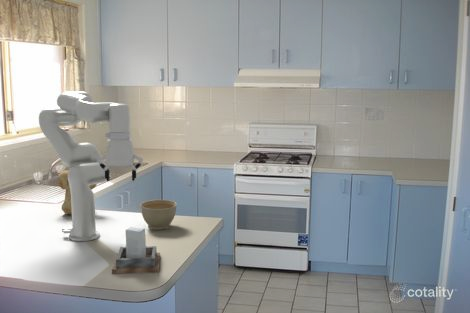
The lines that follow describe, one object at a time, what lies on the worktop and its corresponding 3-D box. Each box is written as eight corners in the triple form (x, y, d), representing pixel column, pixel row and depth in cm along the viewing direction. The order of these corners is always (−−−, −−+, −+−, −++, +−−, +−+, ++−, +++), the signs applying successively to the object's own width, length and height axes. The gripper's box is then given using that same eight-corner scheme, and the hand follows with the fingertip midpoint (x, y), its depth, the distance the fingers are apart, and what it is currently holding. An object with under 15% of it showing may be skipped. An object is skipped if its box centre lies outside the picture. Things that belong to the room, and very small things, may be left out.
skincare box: (146, 259, 187) (145, 228, 185) (140, 263, 183) (140, 231, 181) (131, 257, 189) (131, 226, 187) (125, 261, 185) (125, 229, 183)
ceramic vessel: (63, 208, 263) (61, 160, 259) (101, 207, 265) (100, 160, 261) (54, 217, 246) (51, 166, 242) (95, 216, 248) (93, 166, 244)
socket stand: (112, 273, 178) (111, 261, 177) (117, 257, 194) (117, 246, 193) (158, 272, 179) (158, 260, 179) (160, 256, 195) (159, 244, 194)
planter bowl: (133, 229, 229) (133, 205, 227) (155, 220, 243) (154, 198, 241) (163, 234, 222) (162, 210, 220) (183, 225, 236) (183, 202, 234)
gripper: (94, 137, 190) (96, 182, 192) (141, 137, 191) (142, 182, 194) (98, 135, 197) (99, 178, 200) (143, 135, 199) (144, 178, 202)
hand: (120, 180), depth 197 cm, fingers open, 9 cm apart
